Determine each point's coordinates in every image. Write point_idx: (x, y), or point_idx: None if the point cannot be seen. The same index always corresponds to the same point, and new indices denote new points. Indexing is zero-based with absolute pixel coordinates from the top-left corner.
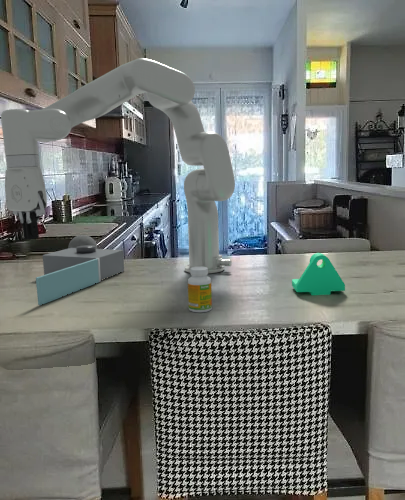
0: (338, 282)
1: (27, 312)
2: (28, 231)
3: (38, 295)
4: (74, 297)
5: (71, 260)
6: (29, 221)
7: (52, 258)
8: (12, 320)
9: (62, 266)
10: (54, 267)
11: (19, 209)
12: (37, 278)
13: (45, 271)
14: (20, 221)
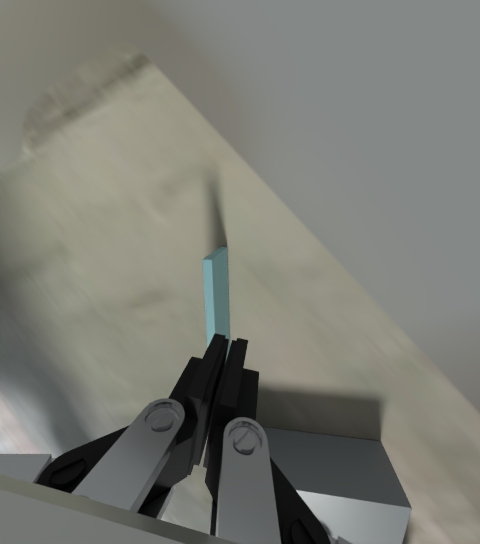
0: None
1: (214, 199)
2: (201, 362)
3: (219, 250)
4: (200, 317)
5: (303, 479)
6: (146, 408)
7: (369, 492)
8: (201, 139)
9: (331, 464)
10: (356, 464)
11: (120, 532)
12: (206, 258)
13: (382, 455)
14: (262, 435)
